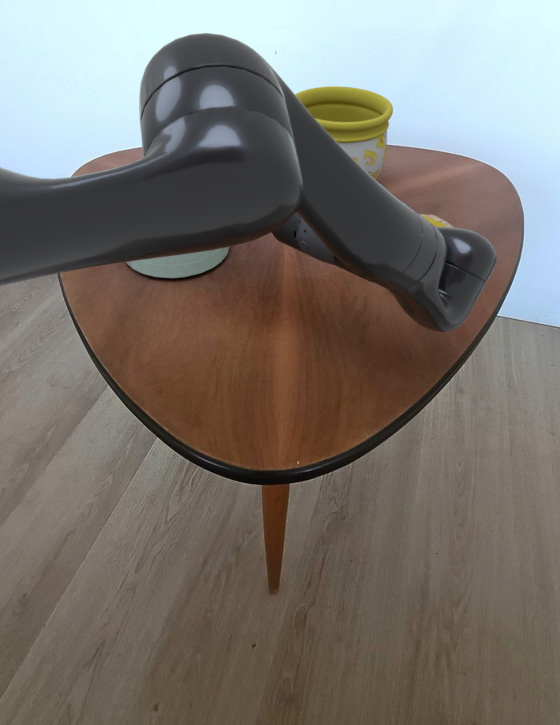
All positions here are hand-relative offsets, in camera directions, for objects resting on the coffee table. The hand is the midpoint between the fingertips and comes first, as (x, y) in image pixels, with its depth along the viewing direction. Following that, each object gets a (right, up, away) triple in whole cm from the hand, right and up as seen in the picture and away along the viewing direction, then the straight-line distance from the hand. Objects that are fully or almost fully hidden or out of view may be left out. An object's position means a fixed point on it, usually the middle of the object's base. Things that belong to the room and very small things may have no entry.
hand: (220, 180), depth 72 cm
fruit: (+29, -10, +15) cm, 34 cm away
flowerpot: (+18, +9, +34) cm, 40 cm away
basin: (-9, -5, +19) cm, 22 cm away
